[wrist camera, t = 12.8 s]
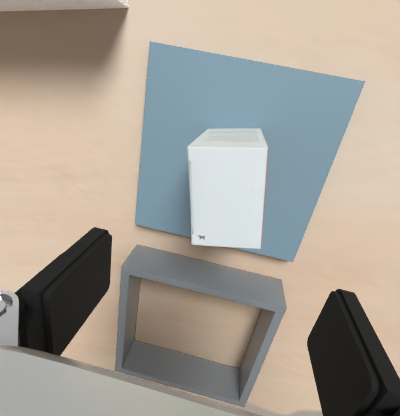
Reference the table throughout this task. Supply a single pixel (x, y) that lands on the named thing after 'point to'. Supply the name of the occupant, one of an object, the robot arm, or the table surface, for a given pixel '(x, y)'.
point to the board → (240, 118)
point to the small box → (228, 187)
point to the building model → (60, 4)
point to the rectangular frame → (207, 284)
